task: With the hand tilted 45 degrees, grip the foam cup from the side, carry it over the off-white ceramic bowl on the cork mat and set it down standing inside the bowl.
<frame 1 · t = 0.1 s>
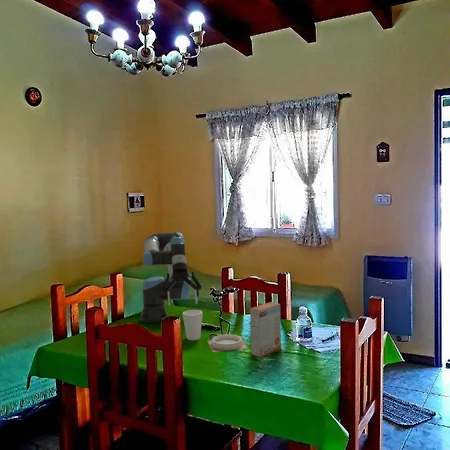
hand: (183, 303, 231), 15 cm above the table, tool tilted 35°, fingers open, 13 cm apart
cork mat: (227, 345, 214), on the table
cracker box: (266, 352, 204), on the table
foam cup: (193, 339, 224), on the table
bowl: (227, 344, 214), resting on cork mat
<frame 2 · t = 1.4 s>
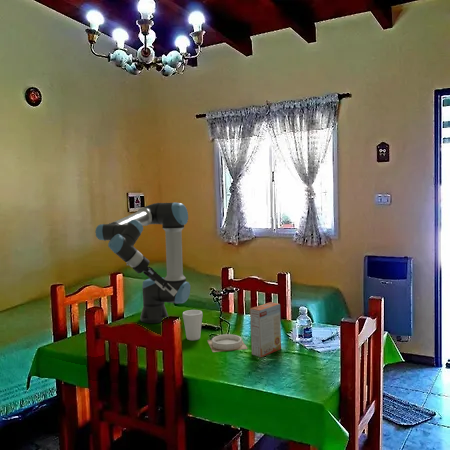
hand: (170, 291, 217), 25 cm above the table, tool tilted 45°, fingers open, 13 cm apart
nothing on the table moved.
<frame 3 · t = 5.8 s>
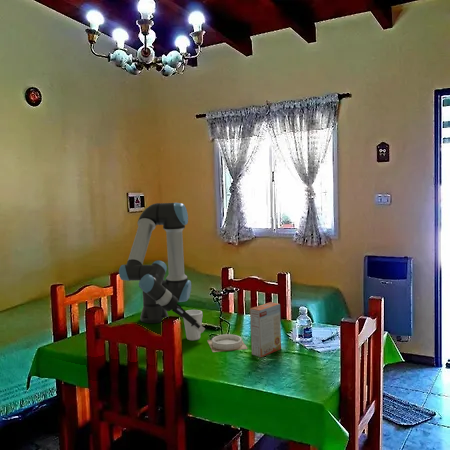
hand: (199, 328, 225), 5 cm above the table, tool tilted 45°, fingers closed on foam cup, 9 cm apart
foam cup: (193, 339, 224), on the table, touching gripper
everything else where it was.
when the fingers open (7 cm above the table, at t = 11.6 s): foam cup drops 1 cm, resting on bowl.
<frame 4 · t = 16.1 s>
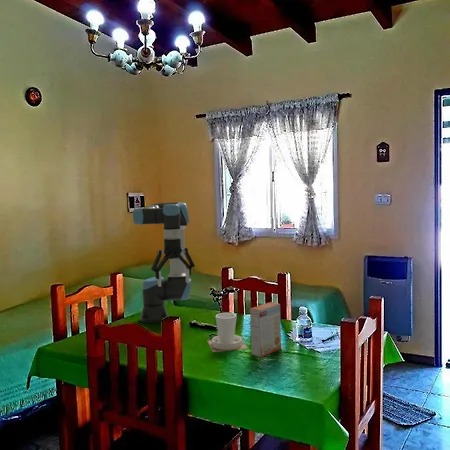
hand: (173, 284, 213), 29 cm above the table, tool pointing down, fingers open, 13 cm apart
foam cup: (226, 343, 214), point 1 cm above the table, touching bowl
everything else where it was.
at the end: foam cup inside the target area on the bowl (0.2 cm from its centre), point 0.4 cm above the bowl's base; foam cup tilted 0°; the gripper is holding nothing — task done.
